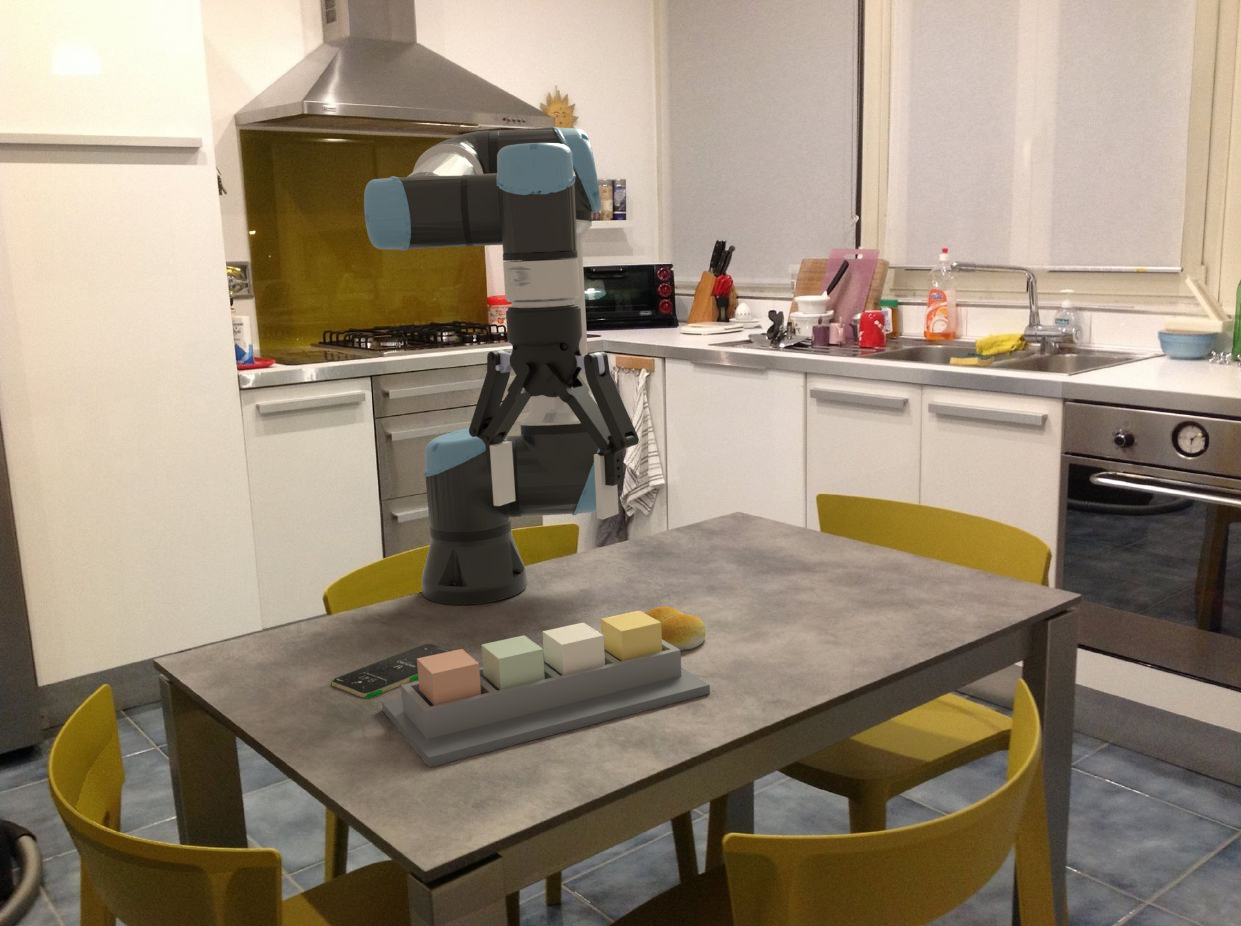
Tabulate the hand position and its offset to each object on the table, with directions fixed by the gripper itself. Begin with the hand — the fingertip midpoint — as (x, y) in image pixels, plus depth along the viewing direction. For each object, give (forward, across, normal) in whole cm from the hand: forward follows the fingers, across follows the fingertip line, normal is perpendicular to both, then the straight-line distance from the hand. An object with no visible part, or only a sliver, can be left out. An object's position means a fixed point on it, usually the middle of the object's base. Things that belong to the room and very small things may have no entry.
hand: (554, 509), depth 117 cm
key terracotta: (+18, -8, -10) cm, 22 cm away
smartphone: (+22, -24, -1) cm, 33 cm away
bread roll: (+22, -1, +23) cm, 32 cm away
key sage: (+18, -4, -3) cm, 19 cm away
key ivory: (+18, -1, +3) cm, 19 cm away
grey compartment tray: (+22, -3, 0) cm, 22 cm away
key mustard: (+18, +2, +10) cm, 21 cm away
